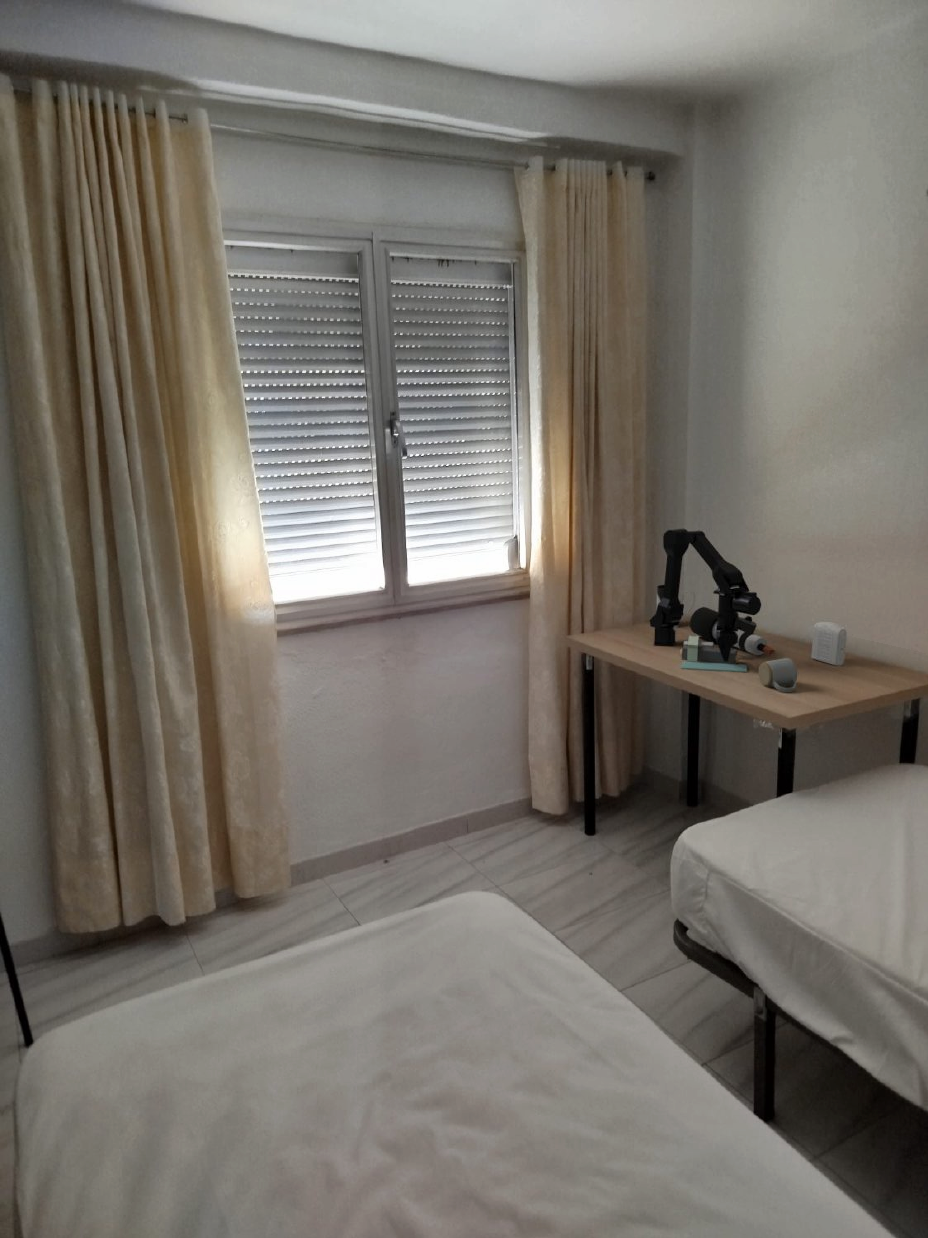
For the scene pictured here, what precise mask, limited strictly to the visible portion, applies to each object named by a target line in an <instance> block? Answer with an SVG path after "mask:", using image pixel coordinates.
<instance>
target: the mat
mask: <svg viewBox="0 0 928 1238" xmlns="http://www.w3.org/2000/svg"><path fill="white" fill-rule="evenodd" d="M747 668H748V667H747V664H740V663H739V664H737V663H735V664H721V663H708V662H699V661H697V662H687V661H682V662H681V666H680V669H681V670H695V671H696V670H697V671H698V670H699V671H715V672H730V673H732V672H733V673H748V669H747Z"/></svg>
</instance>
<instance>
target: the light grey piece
mask: <svg viewBox="0 0 928 1238" xmlns="http://www.w3.org/2000/svg"><path fill="white" fill-rule="evenodd" d="M699 637H700V636H699V635H688V640H687V641H688V651H687V660H686V662H698V661H697V653H698V642H700V640H699Z"/></svg>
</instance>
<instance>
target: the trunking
mask: <svg viewBox="0 0 928 1238" xmlns="http://www.w3.org/2000/svg"><path fill="white" fill-rule="evenodd" d="M685 645H686V646H688V640H684V641H683V647H684V646H685ZM698 647H706V648H714V642H712V641H699V642H698Z"/></svg>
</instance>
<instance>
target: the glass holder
mask: <svg viewBox="0 0 928 1238" xmlns="http://www.w3.org/2000/svg"><path fill="white" fill-rule="evenodd" d="M656 589H657V591H656V609H655V610H657V606H658V604H659V602H660V601H661V599H662V598H663V593H664V584H661V585H660V584H659V585H657V588H656ZM688 592H689V593H691V594H692V595H693V601H692V605H691V606H690V608H689V609H688V610H687V611H686V612H685V613H683V616H682V618H683V617H684V616H686V615H687V614H688V613H689V612H691V611H692V608H693V607H694V604H695V602H696V601H695V599H696V596H695V593H694V592H693V591H691V590H686V591H684V592H683V594H682V596H681V600H679V601H680V603H681V602H683V600H684V598H685V597H684V596H685V594H686V593H688ZM679 627H680V626H679V625H678V626H674V629H677V628H679Z"/></svg>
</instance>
